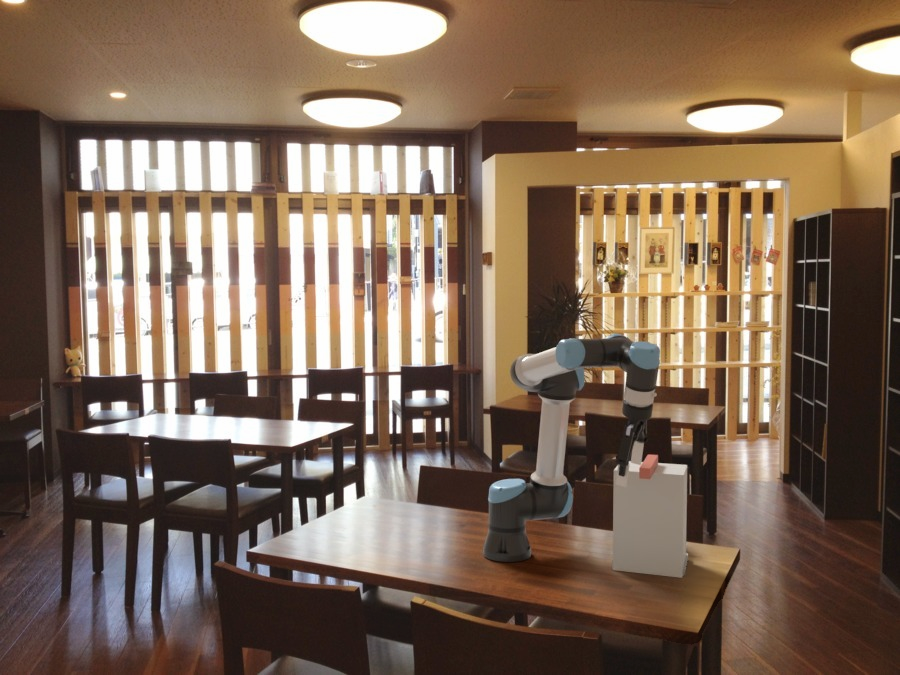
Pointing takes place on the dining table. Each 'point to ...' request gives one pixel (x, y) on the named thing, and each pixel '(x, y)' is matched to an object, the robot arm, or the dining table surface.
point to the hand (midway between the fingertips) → (628, 474)
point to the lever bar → (648, 467)
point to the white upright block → (651, 521)
